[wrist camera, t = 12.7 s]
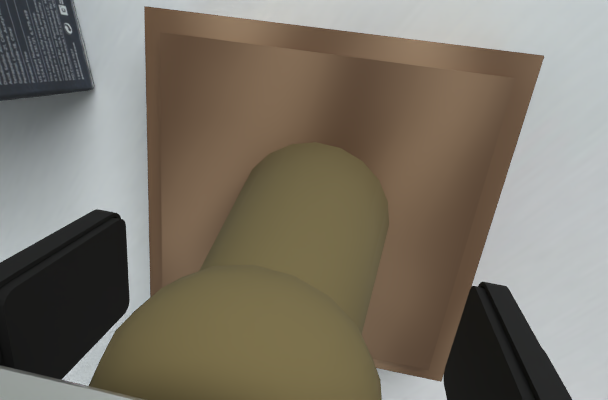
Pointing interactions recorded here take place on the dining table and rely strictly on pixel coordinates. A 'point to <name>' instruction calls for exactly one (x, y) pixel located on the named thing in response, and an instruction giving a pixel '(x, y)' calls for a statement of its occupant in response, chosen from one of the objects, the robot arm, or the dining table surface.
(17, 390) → the robot arm
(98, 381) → the cork
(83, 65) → the box
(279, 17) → the dining table surface
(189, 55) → the walnut plinth
